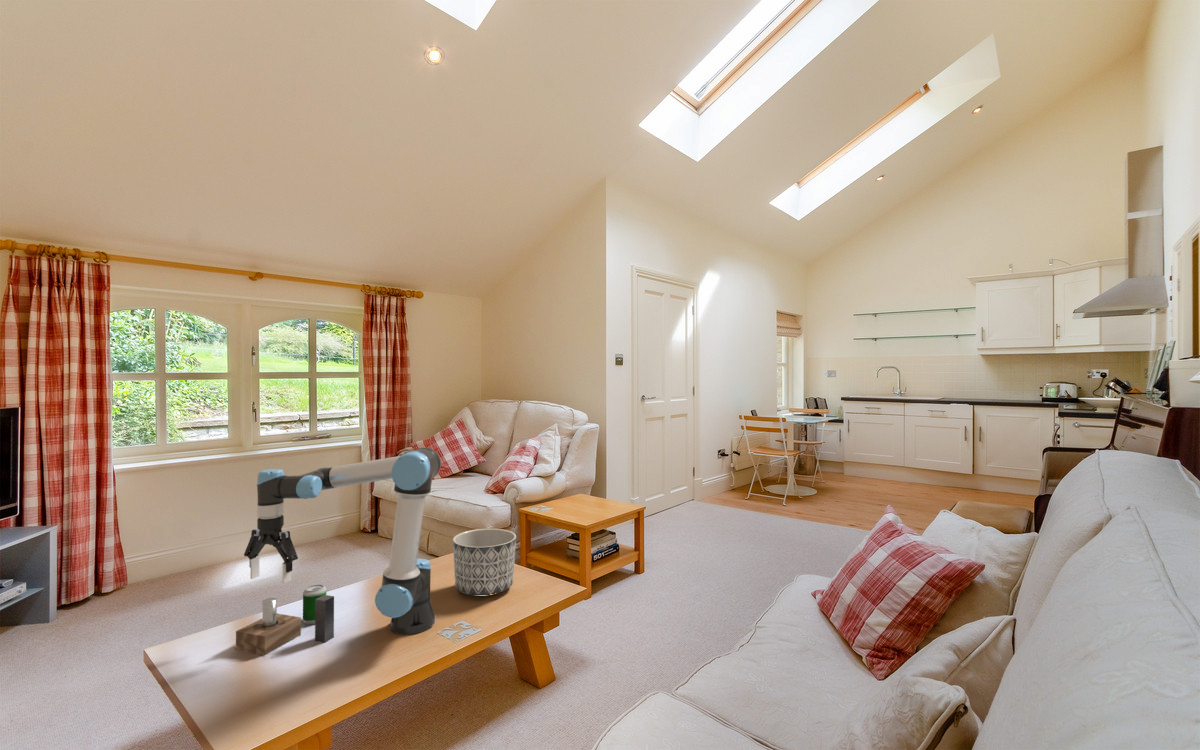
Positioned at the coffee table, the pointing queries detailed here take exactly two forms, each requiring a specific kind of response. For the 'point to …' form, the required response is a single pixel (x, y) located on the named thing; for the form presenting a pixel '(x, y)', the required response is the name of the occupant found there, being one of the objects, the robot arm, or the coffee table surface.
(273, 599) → the cylinder
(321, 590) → the soda can
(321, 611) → the square bit
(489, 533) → the planter
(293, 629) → the bore block
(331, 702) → the coffee table surface
